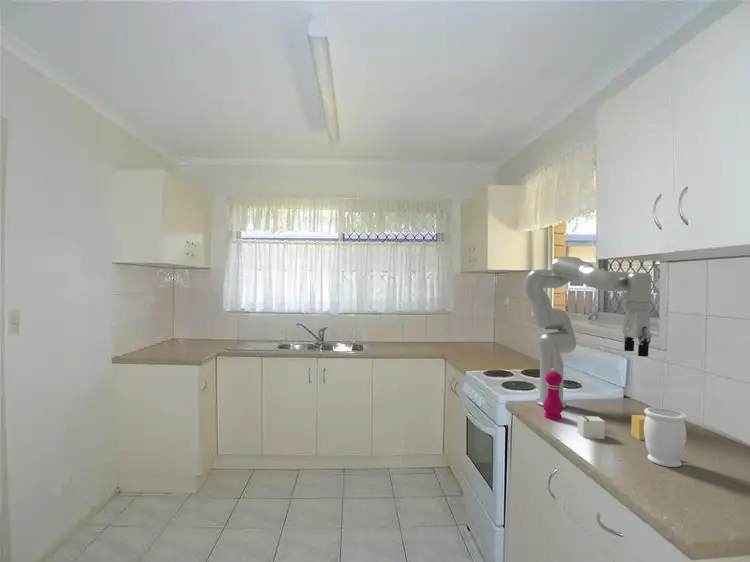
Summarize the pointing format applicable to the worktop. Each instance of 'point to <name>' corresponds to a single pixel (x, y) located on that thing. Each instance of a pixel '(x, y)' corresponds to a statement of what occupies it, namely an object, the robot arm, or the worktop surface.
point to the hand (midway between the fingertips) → (635, 353)
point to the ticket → (591, 427)
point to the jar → (665, 436)
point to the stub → (638, 426)
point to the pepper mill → (553, 396)
